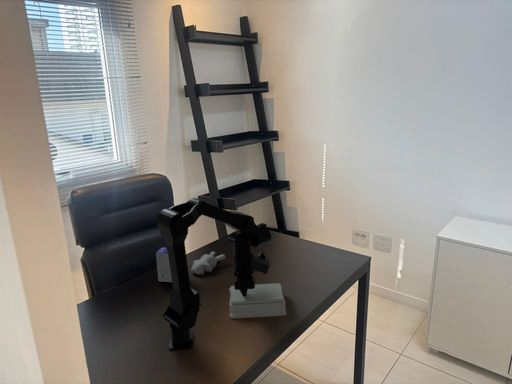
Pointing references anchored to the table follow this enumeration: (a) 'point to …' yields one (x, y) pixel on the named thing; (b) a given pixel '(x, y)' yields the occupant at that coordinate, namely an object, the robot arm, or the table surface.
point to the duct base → (257, 309)
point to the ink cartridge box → (163, 265)
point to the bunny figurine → (206, 263)
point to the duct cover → (258, 294)
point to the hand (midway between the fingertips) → (244, 295)
